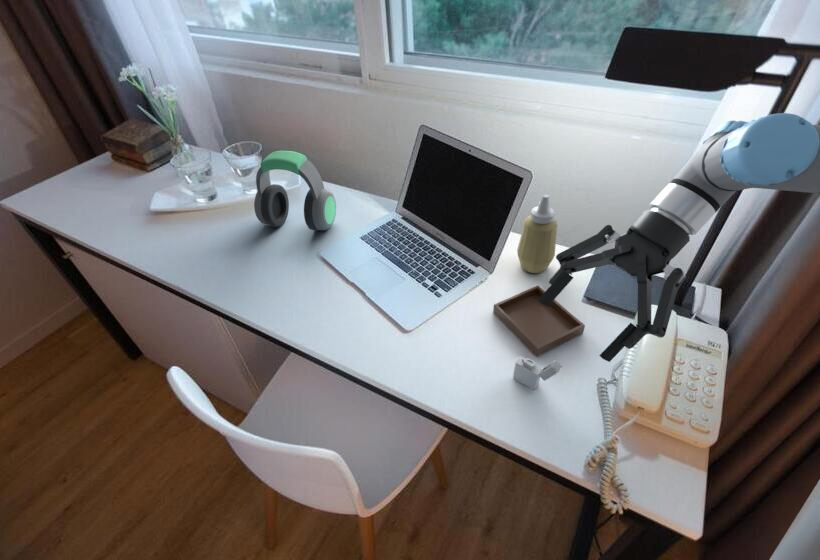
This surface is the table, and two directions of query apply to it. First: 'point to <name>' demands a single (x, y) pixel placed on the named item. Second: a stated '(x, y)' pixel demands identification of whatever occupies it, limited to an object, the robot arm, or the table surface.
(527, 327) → the tray
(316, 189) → the headphones
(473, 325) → the table surface
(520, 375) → the lighter
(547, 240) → the squeeze bottle
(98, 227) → the table surface
